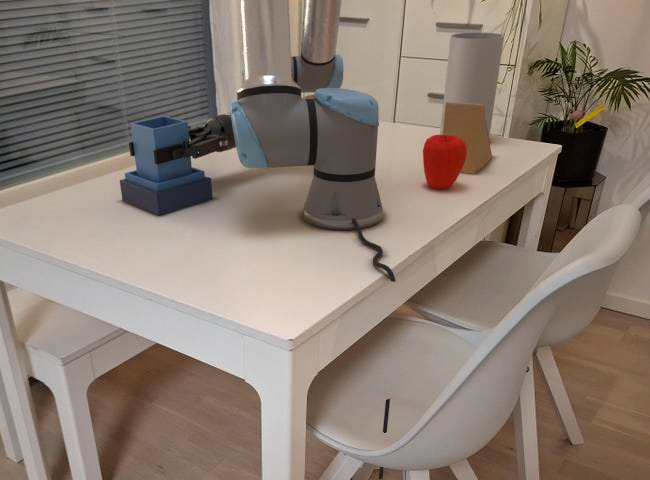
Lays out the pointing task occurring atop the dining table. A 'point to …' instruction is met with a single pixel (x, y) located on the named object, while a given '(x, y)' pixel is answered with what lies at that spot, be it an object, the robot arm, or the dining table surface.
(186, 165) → the lone bin
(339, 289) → the dining table surface
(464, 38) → the cylinder vase
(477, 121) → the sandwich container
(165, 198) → the bin stack
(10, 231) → the dining table surface
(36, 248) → the dining table surface
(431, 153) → the apple
